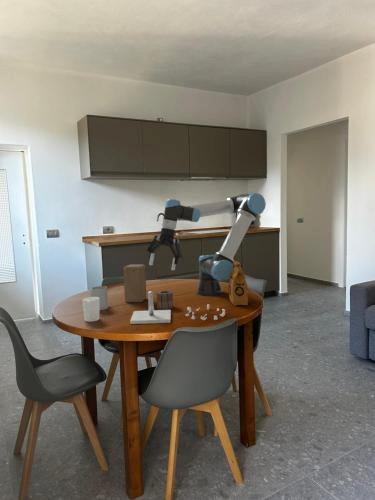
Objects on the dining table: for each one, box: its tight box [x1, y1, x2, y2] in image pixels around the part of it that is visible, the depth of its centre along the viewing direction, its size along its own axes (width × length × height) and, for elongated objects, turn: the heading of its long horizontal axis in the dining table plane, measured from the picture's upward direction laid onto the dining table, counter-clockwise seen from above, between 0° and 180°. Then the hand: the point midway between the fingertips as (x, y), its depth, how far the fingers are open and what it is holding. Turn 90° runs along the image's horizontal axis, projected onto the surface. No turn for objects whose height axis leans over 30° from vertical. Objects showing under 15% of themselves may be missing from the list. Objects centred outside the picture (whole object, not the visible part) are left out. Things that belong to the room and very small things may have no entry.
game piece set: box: [185, 303, 226, 321], centre depth 179 cm, size 19×20×4 cm
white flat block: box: [129, 309, 172, 325], centre depth 175 cm, size 18×16×2 cm
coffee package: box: [228, 260, 249, 307], centre depth 197 cm, size 10×12×22 cm
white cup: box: [81, 296, 101, 322], centre depth 175 cm, size 8×8×10 cm
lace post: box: [147, 291, 155, 316], centre depth 174 cm, size 2×2×11 cm
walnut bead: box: [156, 290, 174, 310], centre depth 194 cm, size 8×8×8 cm
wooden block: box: [123, 263, 147, 303], centre depth 209 cm, size 10×10×20 cm
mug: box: [90, 285, 109, 311], centre depth 196 cm, size 12×8×11 cm
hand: (161, 267), depth 199 cm, fingers open, 13 cm apart
